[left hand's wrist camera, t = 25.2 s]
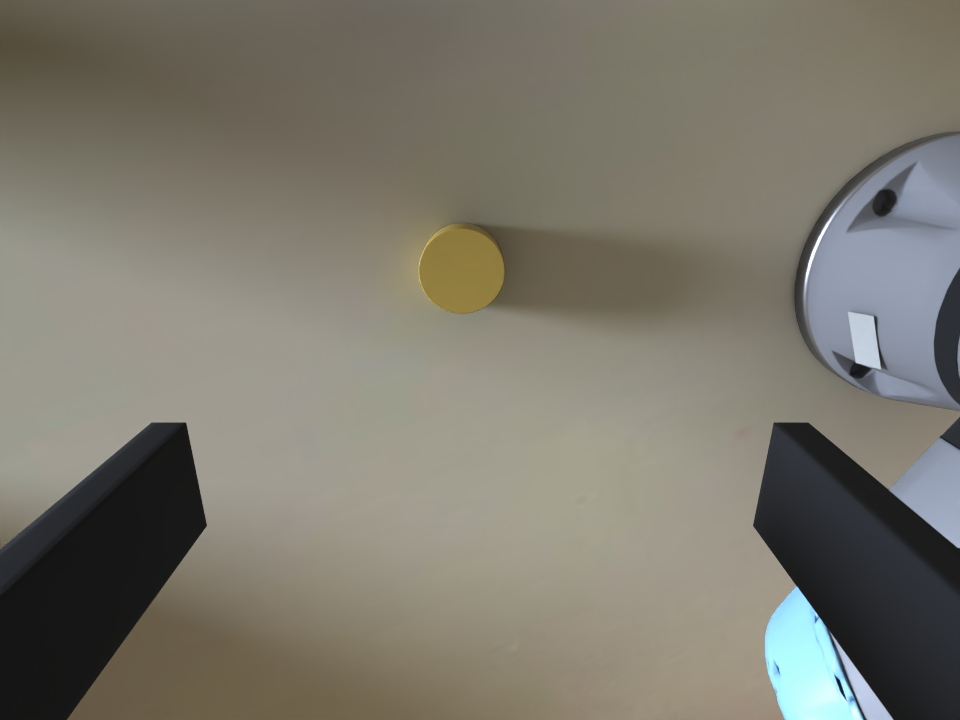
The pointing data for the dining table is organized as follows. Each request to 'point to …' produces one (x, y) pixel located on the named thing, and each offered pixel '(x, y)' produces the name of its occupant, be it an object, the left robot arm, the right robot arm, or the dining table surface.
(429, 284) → the lid
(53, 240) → the dining table surface
